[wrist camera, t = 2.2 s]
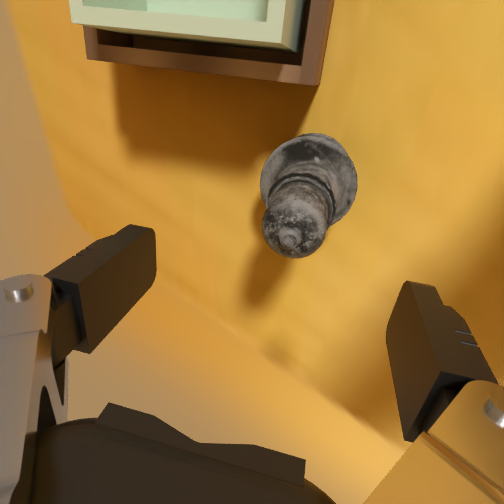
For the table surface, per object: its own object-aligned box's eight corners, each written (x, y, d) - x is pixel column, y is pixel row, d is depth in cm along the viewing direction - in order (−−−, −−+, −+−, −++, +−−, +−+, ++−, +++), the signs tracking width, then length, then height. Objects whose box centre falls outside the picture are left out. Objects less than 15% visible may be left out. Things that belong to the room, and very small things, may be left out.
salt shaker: (309, 227, 25) (286, 330, 15) (253, 171, 24) (188, 239, 14) (374, 173, 23) (401, 254, 12) (314, 108, 22) (288, 134, 11)
